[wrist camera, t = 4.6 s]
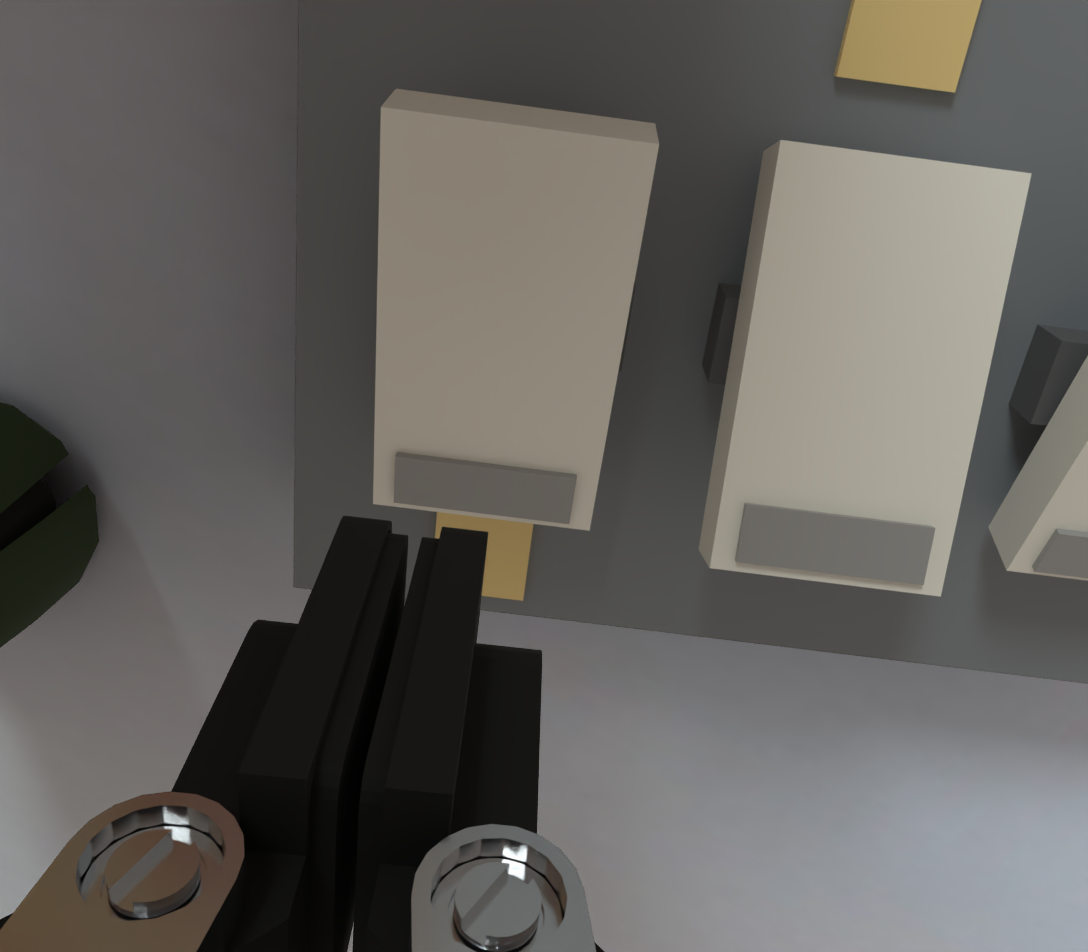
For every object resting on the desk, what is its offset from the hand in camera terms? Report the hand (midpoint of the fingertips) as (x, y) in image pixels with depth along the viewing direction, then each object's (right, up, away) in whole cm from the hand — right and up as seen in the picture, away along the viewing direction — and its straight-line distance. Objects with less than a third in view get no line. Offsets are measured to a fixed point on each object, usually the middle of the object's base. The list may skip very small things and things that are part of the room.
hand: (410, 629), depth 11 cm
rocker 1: (+1, +4, +5) cm, 7 cm away
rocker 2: (+7, +4, +5) cm, 9 cm away
